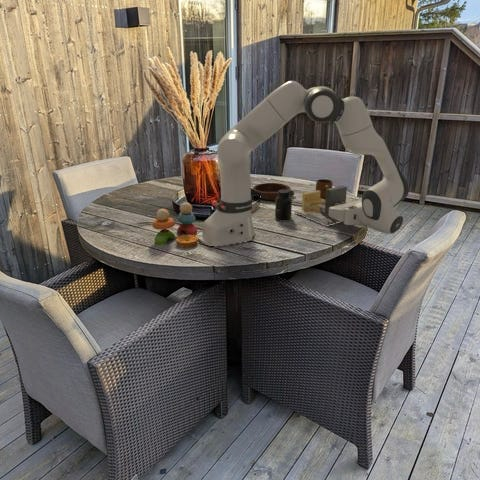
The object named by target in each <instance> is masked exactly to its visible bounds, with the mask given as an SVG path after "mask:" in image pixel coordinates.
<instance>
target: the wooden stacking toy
mask: <svg viewBox="0 0 480 480" xmlns="http://www.w3.org/2000/svg"><path fill="white" fill-rule="evenodd" d="M179 211H180V212H179V214H178V217H177V221H178V222H179V223H181V224H180V225H178V228H177V230H176V233H177V234H180V233H182V232H186V233H185V234H183V235H180V236H177V238H176V235H175V233H174V232H173V231H170V230H169V229H171V228H173V227H174V226H175V225H176V222H175V220H174V219H173V218H172V217H170V213H169V211H168V209H166V208H160V209H158V210H157V211H156V213H155V214H156V215H155V217H156V218H155V219H154V220H153V222H152V228H153V229H155V230H159V231H158V232H157V234H156V235H155V237H154V243H155V244H156V243H157V245H160V244H165V245H167V243H168V240H169V239H171V240H174V239H175V241H176V243H177V245H179V247H180V246H184V247H183V248H191V247H190V246H193V247H195V246H197V244H198V241H199V240H198V237H197V234H198V233H197V232H198V228H197V226H195V224H194V222H195V221H196V217H195V214H194V213H193V212H192V211H193V206H192V204H191V203H189V202H183V203H181V205H180V206H179ZM196 233H197V234H196ZM193 234H195V235H193ZM194 245H195V246H194Z"/></svg>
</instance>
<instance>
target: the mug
mask: <svg viewBox="0 0 480 480" xmlns="http://www.w3.org/2000/svg"><path fill="white" fill-rule="evenodd" d="M315 182H316V183H315V191H317V190H319V191H320V198H321V199H324V200H326V189H329V188H333V180H331V179H328V178H327V179H325V178H323V179H317V180H316V181H315Z"/></svg>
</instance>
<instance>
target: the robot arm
mask: <svg viewBox="0 0 480 480" xmlns="http://www.w3.org/2000/svg"><path fill="white" fill-rule="evenodd" d="M301 113H306V115H307V116H308V118H309V119H310V120H312V121H313V122H315V123H320V124H322V123H323V124H324V123H331V122H333V123H335V125H336V127H337V129H338V133H339V136H340V139H341V142H342V144H343V147H344V148H345V150H346V151H347V152H349V153H351V154H353V155H355V156H356V155H357V156H360V155H361V156H362V155H363V156H364V155H365V156H366V155H369V156H372V157H374V159H375V160H376V162H377V164H378V167H379V168H380V170H381V172H382V174H383V175H382V176H383V177H382V180H381V181H379V182H377V183H375V184H373V185H372V186H370V187H369V188H367V189H366V190H364V192H363V193H362V195H361V199H358V200H354V201H350V202H346V203H345V202H337V203H335V206H332V207H329V217H331V218H333V219H335V220H338V221H341V222H343V224H344V225H346V226H356V225H357V226H363V227H366V228H367V227H368V228H371V229H372V230H374V231H376V232H379V233H382V234H387V235H391V234H392V235H393V234H395V233H396V232H398V231H399V230H400V229H401V227H402V226H403V222H404V217H403V215H402V214H401V213H399V212H397V211H396V209H395V208H394V205H395V204H397V203H399V202H401V201H402V200H405V199H406V198H407V197H408V195H409V193H410V187H409V186H410V185H409V181H408V180H407V179H406V177H405V175H403V173H402V171H401V169H400V168H399V165H398V163H397V161H396V159H395V156H394V155H393V152H392V150H391V148H390V146H389V144H388V142H387V141H386V139H385V138H384V137H383V136H382V135H380V134H378V133H377V132H376V129H375V128H374V126H373V121H372V118H371V117H370V116H371V115H370V113H369V111H368V109H367V107H366V105H365V104H364V101H363V100H362V98H360V97H358V96H347V97H345V98H341V97H340V96H338V95H337V94H336V92H335V91H334V90H333V89H332V88H330V87H329V86H325V85H318V86H317V85H316V86H312V87H308V88H305V87H304V86H303V85H302V84H301V83H299V82H298V81H296V80H288V81H287V82H285V83H283V84H281V85H280V86H278V87H277V88H276V89H274V90H273V91H271V92H270V94H268V95H267V96H266V97H264V98H263V100H262V101H260V102H259V103H258V104H257V105H256V106H255V107H254V108H253V109H251V111H250V112H248V113H246V115H245V116H243V118H242V119H240V120H239V121H238V122H237V123H236V124H235V125H234V126H233V127H231V128H230V129H229V130H228V131H227V132H226V133H225V134H224V136H222V138H221V139H220V140H219V142H218V144H217V151H216V152H217V160H218V161H217V162H218V169H219V170H218V171H219V176H220V199H219V202H218V201H216V200H212V202H211V205H212V206H214V207H216V208H217V209H216V210H215V211H214V212H213V213H212V214H211V215H209V217H208V218H206V219H205V220H204V221H203V225H202V232H199V233H197V234H196V236H197V237H198V241H199V242H200V243H201V242H202V243H201V244H203V243H204V244H203V245H205V244H206V245H205V246H207V245H209V246H208V247H210V246H215V247H214V248H217V247H216V246H221V247H224V246H223V245H227V246H230V245H229V244H233V245H236V244H235V243H239V244H241V243H240V242H245V241H250V240H252V241H253V238H254V237H255V235H256V231H255V228H254V225H253V218H252V217H253V216H252V209H253V198H252V196H251V191H252V185H251V184H252V182H251V181H252V179H251V178H252V177H251V165H250V154H251V152H253V151H254V150H255V149H256V148H258V147H259V146H260V145H261V144H263V143H264V142H266V141H267V140H268V139H270V138H271V137H272V136H273V135H274V134H276V133H277V132H278V131H279V130H280V129H281V128H282V127H284V126H285V125H286V124H287V123H288V122H289V121H291V120H292V119H293V118H294V117H295V116H297V115H299V114H301ZM253 236H254V237H253ZM252 237H253V238H252ZM245 243H246V242H245Z"/></svg>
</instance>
